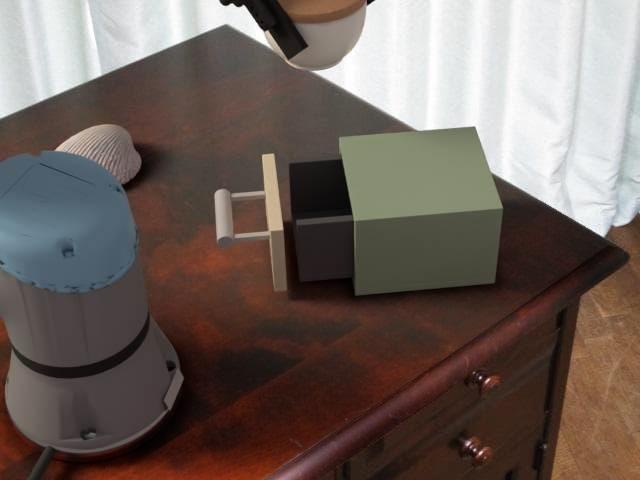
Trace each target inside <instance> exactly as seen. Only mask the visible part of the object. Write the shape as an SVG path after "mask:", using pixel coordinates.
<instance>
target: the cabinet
mask: <svg viewBox="0 0 640 480" xmlns="http://www.w3.org/2000/svg"><path fill="white" fill-rule="evenodd" d="M338 149H339V151H338V153H339V154H341V155H342V160H343V166H344V171H345V176H346V181H347V187H348V192H349V197H350V202H351V207H352V213H353V218H354V277H351V278H352V285H353V291H354V295H355V296H366V295H376V294H391V293H401V292H410V291H412V292H413V291H423V290H433V289H444V288H445V289H446V288H455V287H456V288H457V287H468V286H469V287H470V286H478V285H490V284H491V285H492V284H495V283H496V277H497V276H496V275H497V266H498V258H499V249H500V240H501V233H502V232H501V231H502V222H503V214H504V206H503V204H502V200H501V198H500V195H499V192H498V188H497V186H496V183H495V180H494V177H493V174H492V171H491V168H490V166H489V163H488V159H487V157H486V153H485V151H484V148H483V145H482V142H481V138H480V137H479V133H478V130H477V127H476V126H475V125H474V126H473V125H472V126H461V127H448V128H436V129H425V130H423V129H422V130H411V131H410V130H409V131H399V132H387V133H385V132H384V133H375V134H362V135H349V136H339V137H338Z"/></svg>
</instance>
